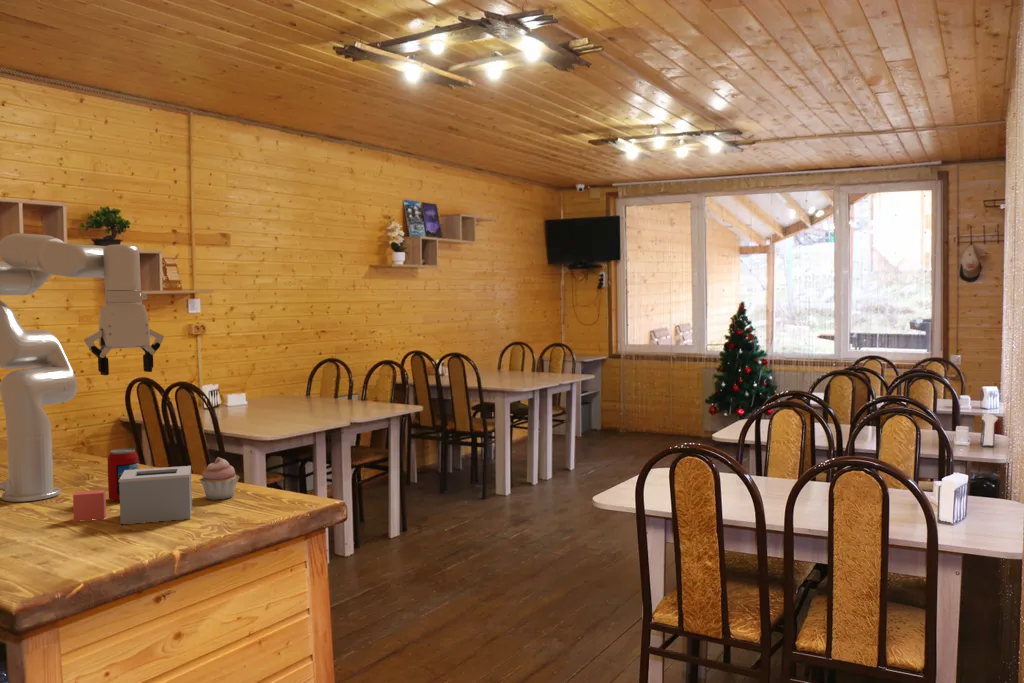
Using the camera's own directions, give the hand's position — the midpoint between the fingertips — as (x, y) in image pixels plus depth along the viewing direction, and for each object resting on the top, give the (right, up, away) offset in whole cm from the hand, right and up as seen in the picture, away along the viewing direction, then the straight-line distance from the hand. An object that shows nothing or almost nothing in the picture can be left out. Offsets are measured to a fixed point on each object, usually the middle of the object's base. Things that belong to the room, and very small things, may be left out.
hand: (126, 373), depth 188 cm
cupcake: (+17, -31, +13) cm, 38 cm away
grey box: (+9, -32, -5) cm, 34 cm away
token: (-5, -32, -7) cm, 33 cm away
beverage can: (-6, -31, +11) cm, 34 cm away
